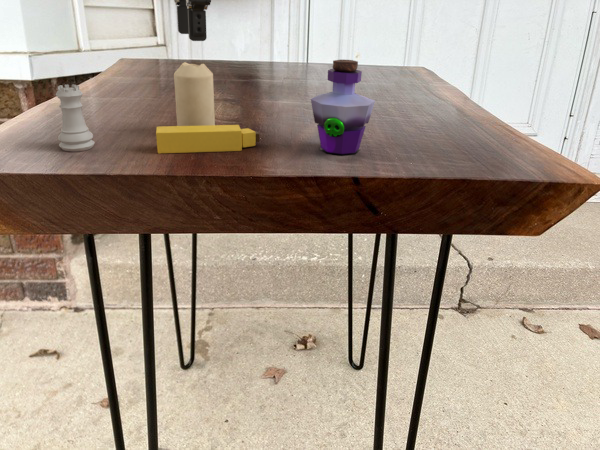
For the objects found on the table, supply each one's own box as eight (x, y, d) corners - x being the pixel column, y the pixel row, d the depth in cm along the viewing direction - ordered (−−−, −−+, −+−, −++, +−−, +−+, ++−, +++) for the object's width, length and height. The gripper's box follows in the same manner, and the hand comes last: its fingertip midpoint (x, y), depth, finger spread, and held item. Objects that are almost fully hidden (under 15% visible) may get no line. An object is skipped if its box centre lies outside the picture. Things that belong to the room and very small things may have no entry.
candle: (219, 129, 81) (217, 61, 77) (208, 138, 76) (205, 66, 72) (185, 126, 82) (181, 59, 78) (171, 135, 77) (166, 64, 73)
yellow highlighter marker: (157, 153, 69) (156, 132, 68) (158, 145, 72) (156, 125, 71) (261, 150, 72) (261, 130, 70) (257, 143, 75) (257, 123, 74)
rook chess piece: (59, 143, 71) (50, 83, 68) (95, 141, 73) (87, 82, 69) (58, 153, 68) (47, 90, 64) (95, 150, 69) (87, 89, 66)
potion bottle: (309, 158, 69) (313, 63, 64) (307, 140, 77) (310, 54, 72) (375, 160, 69) (384, 65, 64) (366, 141, 77) (373, 56, 72)
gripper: (148, -97, 71) (157, 31, 77) (163, -110, 59) (172, 43, 66) (203, -92, 73) (207, 32, 80) (229, -104, 61) (231, 43, 68)
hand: (191, 37), depth 73 cm, fingers open, 8 cm apart
